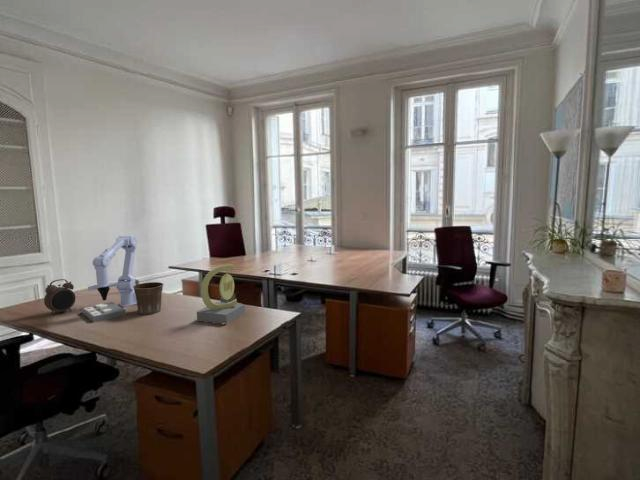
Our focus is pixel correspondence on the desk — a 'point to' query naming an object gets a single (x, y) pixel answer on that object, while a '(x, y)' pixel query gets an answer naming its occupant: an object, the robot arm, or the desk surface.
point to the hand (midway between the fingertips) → (104, 300)
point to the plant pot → (148, 297)
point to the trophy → (220, 310)
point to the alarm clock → (59, 297)
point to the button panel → (98, 315)
